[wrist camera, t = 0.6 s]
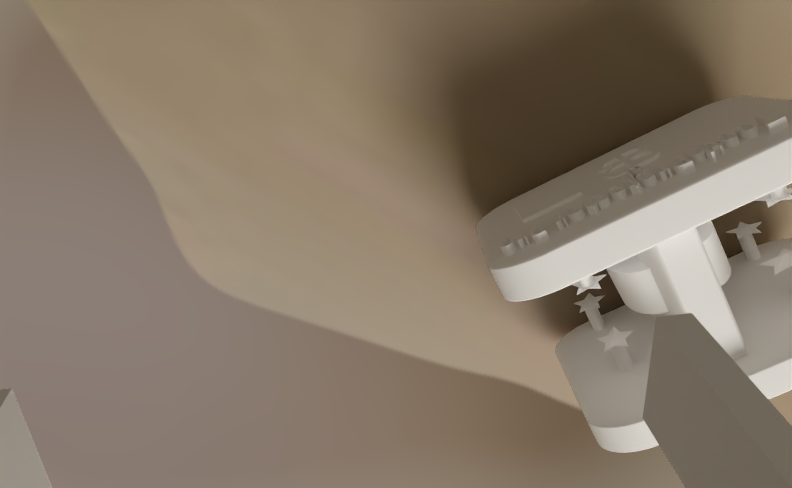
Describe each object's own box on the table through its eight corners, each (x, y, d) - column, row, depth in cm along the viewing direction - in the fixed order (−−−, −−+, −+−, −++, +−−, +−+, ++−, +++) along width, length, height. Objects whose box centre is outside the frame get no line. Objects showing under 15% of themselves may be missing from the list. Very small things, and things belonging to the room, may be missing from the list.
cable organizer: (545, 364, 41) (592, 478, 29) (467, 207, 38) (485, 266, 27) (793, 254, 38) (946, 332, 27) (725, 80, 36) (860, 87, 25)
